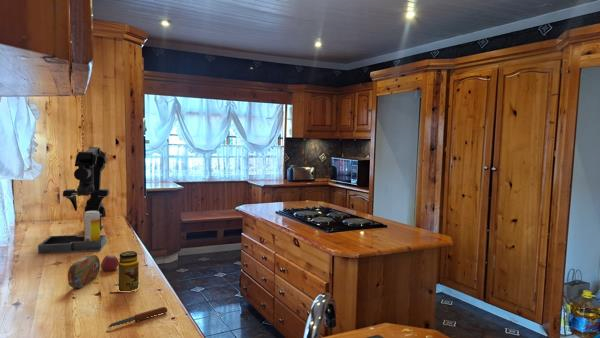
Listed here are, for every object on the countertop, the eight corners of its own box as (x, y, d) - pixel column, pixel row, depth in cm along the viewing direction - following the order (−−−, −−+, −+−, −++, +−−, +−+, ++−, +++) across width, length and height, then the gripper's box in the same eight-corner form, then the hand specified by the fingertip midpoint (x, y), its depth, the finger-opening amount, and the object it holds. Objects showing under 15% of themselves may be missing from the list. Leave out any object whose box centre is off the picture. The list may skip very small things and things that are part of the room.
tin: (75, 292, 123) (75, 266, 122) (65, 291, 123) (65, 265, 122) (100, 275, 138) (100, 252, 137) (92, 274, 138) (91, 251, 137)
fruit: (115, 276, 142) (126, 257, 143) (100, 271, 139) (112, 251, 140) (113, 271, 147) (124, 252, 148) (98, 266, 144) (110, 246, 145)
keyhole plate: (50, 243, 172) (50, 236, 172) (106, 241, 179) (106, 233, 179) (38, 254, 158) (37, 245, 158) (100, 250, 165) (100, 242, 164)
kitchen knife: (165, 312, 111) (165, 305, 111) (167, 313, 110) (167, 307, 110) (107, 329, 101) (107, 322, 101) (108, 331, 100) (108, 324, 100)
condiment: (137, 292, 124) (137, 256, 123) (109, 293, 122) (108, 257, 121) (141, 283, 131) (141, 249, 130) (114, 285, 129) (114, 250, 128)
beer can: (102, 243, 173) (102, 210, 172) (95, 247, 167) (94, 213, 166) (89, 242, 174) (89, 210, 172) (81, 246, 168) (81, 212, 166)
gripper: (58, 180, 171) (59, 214, 172) (105, 180, 177) (105, 213, 178) (66, 177, 182) (66, 209, 183) (109, 177, 187) (109, 209, 189)
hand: (86, 210), depth 183 cm, fingers open, 9 cm apart
